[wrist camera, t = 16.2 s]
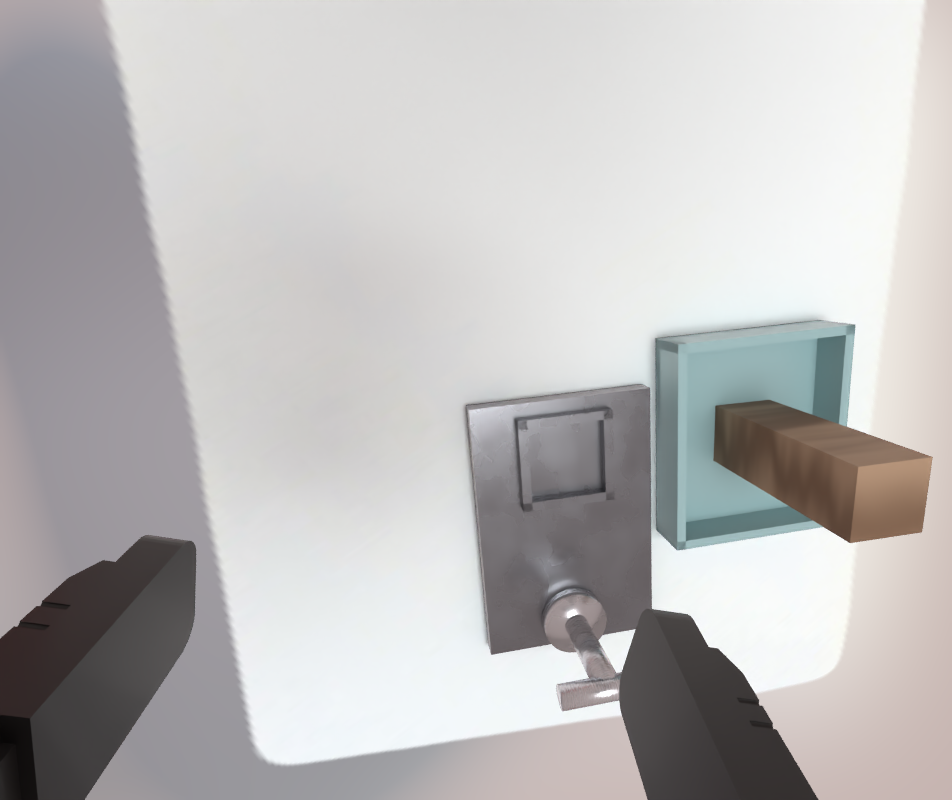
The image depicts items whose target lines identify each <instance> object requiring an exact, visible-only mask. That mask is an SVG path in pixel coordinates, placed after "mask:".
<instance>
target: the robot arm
mask: <svg viewBox="0 0 952 800" xmlns="http://www.w3.org/2000/svg"><path fill="white" fill-rule="evenodd" d="M195 580H196V548H195V545H194V543H193V542H192V541H186V540H179V539H172V538H165V537H159V536H152V535H145V536H143V537H141V538H140V539H139V540H138V541H137V542H136V543H135V544H134V545H133V546H132V547H131V548H129V550H127V551H126V552H125V553H124V554H123V555H122V556H121V557H120V558H119V559H118V560H117V561H116V562H111V561H105V560H103V561H101V562H99V563H97V564H95V565H93V566H91V567H89V568H87V569H85V570H83V571H81V572H79V573H77V574H75V575H73V576H71V577H69V578H68V579H67V580H66V581H64V582H63V583H62V584H61V585H60V586H59V587H58V588H56V590H54V591H53V592H52V593H51V594H50V595H49V596H48V597H46V598H45V599H44V600H43V601H42V604H41V606H36V607H35V608H34V609H33V610H32V611H31V612H30V613H28V614H27V615H26V616H25V617H24V618H23V619H22V620H21V621H20V623H19V625H18V627H13V628H12V629H11V630H9V631H8V632H7V633H6V634H5V635H4V636H3V637H2V638H1V639H0V800H85V798H86V796H87V795H88V793H89V792H90V790H91V789H92V788H93V786H94V785H95V783H96V782H97V780H98V778H99V777H100V776H101V774H102V772H103V771H104V769H105V768H106V766H107V765H108V763H109V762H110V760H111V759H112V757H113V756H114V754H115V753H116V751H117V750H118V748H119V747H120V745H121V744H122V742H123V741H124V739H125V738H126V736H127V735H128V733H129V732H130V730H131V729H132V727H133V726H134V724H135V723H136V721H137V720H138V718H139V717H140V715H141V713H142V712H143V711H144V709H145V708H146V706H147V705H148V703H149V702H150V700H151V699H152V697H153V696H154V694H155V693H156V691H157V690H158V688H159V687H160V685H161V684H162V682H163V681H164V679H165V677H166V676H167V675H168V673H169V672H170V670H171V669H172V667H173V666H174V664H175V662H176V661H177V659H178V658H179V657H180V655H181V653H182V652H183V650H184V648H185V646H186V644H187V642H188V639H189V636H190V634H191V630H192V627H193V622H194V616H195ZM619 701H620V708H621V713H622V717H623V720H624V723H625V726H626V730H627V733H628V736H629V740H630V743H631V746H632V749H633V753H634V756H635V759H636V763H637V766H638V769H639V772H640V776H641V779H642V782H643V785H644V789H645V792H646V796H647V799H648V800H818V798H817V797H816V795H815V793H814V792H813V790H812V788H811V787H810V785H809V784H808V782H807V780H806V778H805V777H804V775H803V773H802V772H801V770H800V768H799V767H798V765H797V763H796V762H795V760H794V758H793V756H792V755H791V753H790V752H789V750H788V748H787V746H786V745H785V743H784V742H783V740H782V738H781V736H780V735H779V733H778V731H777V730H775V729H773V726H772V724H773V723H772V721H771V720H770V718H769V717H768V715H767V713H766V711H765V710H764V708H763V706H759V699H758V698H757V696H756V694H755V693H754V691H753V689H752V688H751V686H750V684H749V683H748V681H747V679H746V678H745V676H744V674H743V673H742V672H741V671H740V670H739V669H738V668H737V667H736V666H735V665H734V664H733V663H732V662H731V661H730V660H729V659H728V658H727V657H726V656H725V655H724V654H723V653H722V652H721V651H720V650H719V649H717V648H710V647H708V645H707V643H706V642H705V640H704V638H703V636H702V634H701V633H700V631H699V629H698V627H697V625H696V624H695V622H694V620H693V619H692V617H691V616H689V615H688V614H682V613H675V612H668V611H661V610H654V609H645V610H644V611H643V612H642V614H641V616H640V618H639V621H638V624H637V627H636V630H635V633H634V636H633V639H632V643H631V646H630V649H629V652H628V655H627V658H626V661H625V664H624V667H623V670H622V673H621V678H620V685H619Z"/></svg>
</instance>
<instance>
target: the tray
mask: <svg viewBox="0 0 952 800" xmlns="http://www.w3.org/2000/svg"><path fill="white" fill-rule="evenodd" d="M854 335H855V325H854V324H846V323H838V322H830V321H822V320H818V321H809V322H800V323H791V324H782V325H773V326H764V327H755V328H746V329H737V330H728V331H719V332H710V333H701V334H692V335H683V336H674V337H665V338H656V495H657V531H658V532H659V533H660V534H661V535H662V536H663V537H664V538H665V539H666V540H667V541H668V542H669V543H670V544H671V545H672V546H673V547H674V548H675V549H676V550H683V549H690V548H696V547H702V546H708V545H714V544H720V543H727V542H733V541H739V540H745V539H751V538H758V537H764V536H770V535H776V534H782V533H789V532H795V531H801V530H807V529H813V528H820V527H823V526H821V525H819V524H818V523H816V522H814V521H813V520H811V519H809V518H808V517H806V516H804V515H803V514H801V513H800V512H798V511H796V510H795V509H793V508H791V507H790V506H788V505H786V504H785V503H783V502H781V501H780V500H778V499H776V498H775V497H773V496H771V495H770V494H768V493H766V492H765V491H763V490H761V489H760V488H758V487H756V486H755V485H753V484H751V483H750V482H748V481H746V480H745V479H743V478H741V477H740V476H738V475H736V474H735V473H733V472H732V471H730V470H728V469H727V468H725V467H723V466H722V465H720V464H718V463H717V462H715V461H713V458H714V432H715V406H716V405H725V404H734V403H743V402H752V401H761V400H772V401H775V402H778V403H780V404H783V405H786V406H789V407H792V408H795V409H797V410H800V411H803V412H806V413H809V414H812V415H814V416H817V417H820V418H823V419H826V420H829V421H832V422H834V423H837V424H840V425H843V426H846V427H847V418H848V406H849V394H850V382H851V371H852V359H853V347H854Z"/></svg>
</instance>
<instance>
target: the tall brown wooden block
mask: <svg viewBox="0 0 952 800" xmlns="http://www.w3.org/2000/svg"><path fill="white" fill-rule="evenodd" d="M932 458H933V457H931V456H928V455H925V454H922V453H919V452H917V451H914V450H911V449H908V448H905V447H902V446H900V445H896V444H894V443H891V442H888V441H885V440H882V439H880V438H877V437H874V436H871V435H868V434H866V433H863V432H860V431H857V430H854V429H851V428H849V427H846V426H843V425H840V424H837V423H834V422H832V421H829V420H826V419H823V418H820V417H817V416H814V415H812V414H809V413H806V412H803V411H800V410H797V409H795V408H792V407H789V406H786V405H783V404H780V403H778V402H775V401H772V400H761V401H752V402H743V403H734V404H725V405H716V406H715V432H714V458H713V461H715V462H717V463H718V464H720V465H722V466H723V467H725V468H727V469H728V470H730V471H732V472H733V473H735V474H736V475H738V476H740V477H741V478H743V479H745V480H746V481H748V482H750V483H751V484H753V485H755V486H756V487H758V488H760V489H761V490H763V491H765V492H766V493H768V494H770V495H771V496H773V497H775V498H776V499H778V500H780V501H781V502H783V503H785V504H786V505H788V506H790V507H791V508H793V509H795V510H796V511H798V512H800V513H801V514H803V515H804V516H806V517H808V518H809V519H811V520H813V521H814V522H816V523H818V524H819V525H821V526H823V527H824V528H826V529H828V530H829V531H831V532H833V533H834V534H836V535H838V536H839V537H841V538H843V539H844V540H846V541H848V542H849V543H854V542H860V541H866V540H873V539H880V538H887V537H893V536H900V535H907V534H913V533H920V532H922V528H923V521H924V514H925V507H926V500H927V492H928V486H929V478H930V471H931V464H932Z"/></svg>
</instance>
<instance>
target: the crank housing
mask: <svg viewBox="0 0 952 800" xmlns="http://www.w3.org/2000/svg"><path fill="white" fill-rule="evenodd" d="M466 409H467V420H468V430H469V441H470V452H471V463H472V473H473V484H474V495H475V506H476V516H477V527H478V538H479V549H480V559H481V570H482V581H483V592H484V602H485V613H486V624H487V635H488V644H489V648H490V652H491V655H492V654H498V653H503V652H509V651H515V650H520V649H526V648H531V647H537V646H543V645H548V644H552V645H553V646H554V647H555V648H557V649H559V650H561V651H565V652H577V654H578V656H579V658H580V660H581V662H582V664H583V666H584V668H585V670H586V672H587V675H588V677H589V678H588V679H583V680H578V681H572V682H567V683H562V684H557V686H556V689H557V696H558V701H559V705H560V708H561V710H562V711H567V710H572V709H577V708H582V707H587V706H593V705H598V704H603V703H608V702H613V701H618V700H619V685H620V678H621V673H622V672H620V673H616V672H615V670H614V668H613V666H612V665H611V663H610V661H609V659H608V657H607V655H606V654H605V652H604V650H603V648H602V646H601V645H600V643H599V641H598V640H599V639H600V638H601V636H602V635H604V634H610V633H616V632H621V631H627V630H632V629H636V627H637V624H638V621H639V618H640V616H641V614H642V612H643V611H644V610H645V609H652V591H651V459H650V388H649V387H647V386H645V385H643V384H639V385H631V386H623V387H615V388H606V389H598V390H590V391H582V392H573V393H565V394H557V395H549V396H540V397H532V398H524V399H516V400H507V401H499V402H491V403H483V404H474V405H466Z"/></svg>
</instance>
